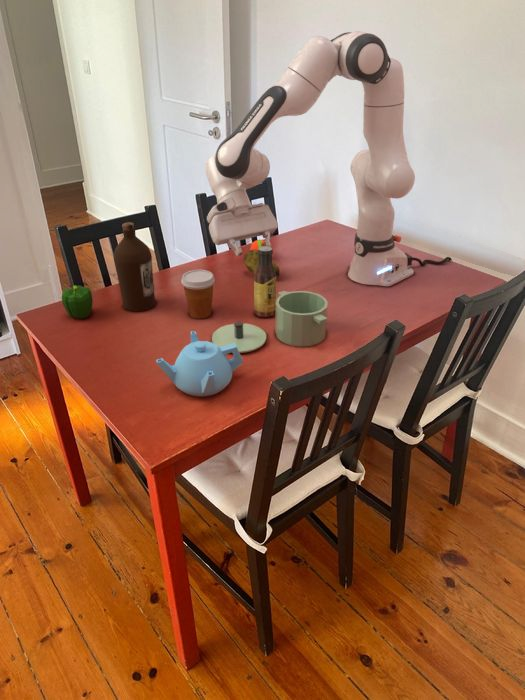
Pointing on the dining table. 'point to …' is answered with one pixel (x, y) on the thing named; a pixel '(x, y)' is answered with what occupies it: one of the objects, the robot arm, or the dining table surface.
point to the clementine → (257, 244)
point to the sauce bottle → (265, 284)
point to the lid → (240, 336)
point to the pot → (301, 318)
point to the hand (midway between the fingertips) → (254, 251)
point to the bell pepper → (77, 301)
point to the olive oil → (134, 271)
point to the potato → (256, 261)
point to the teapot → (202, 367)
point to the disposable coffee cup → (198, 292)
